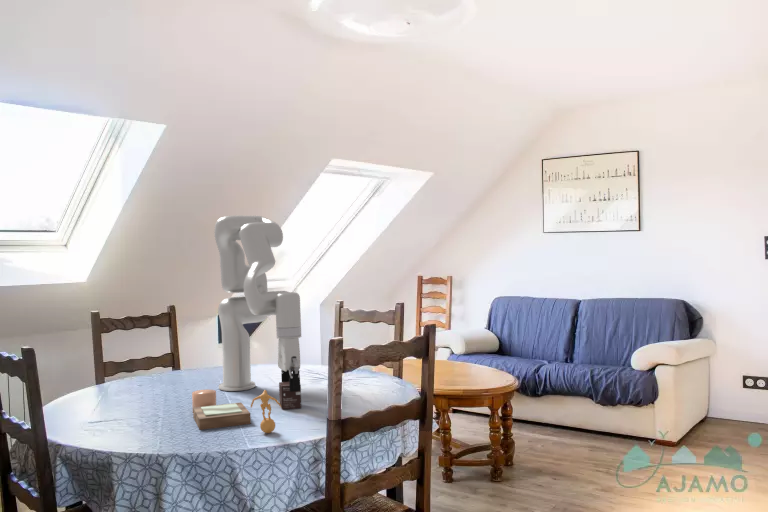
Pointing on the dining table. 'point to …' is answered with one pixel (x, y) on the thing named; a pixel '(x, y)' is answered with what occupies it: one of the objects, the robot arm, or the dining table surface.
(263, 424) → the figurine
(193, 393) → the peach rounded block
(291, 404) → the box
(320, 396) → the dining table surface
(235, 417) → the stand
